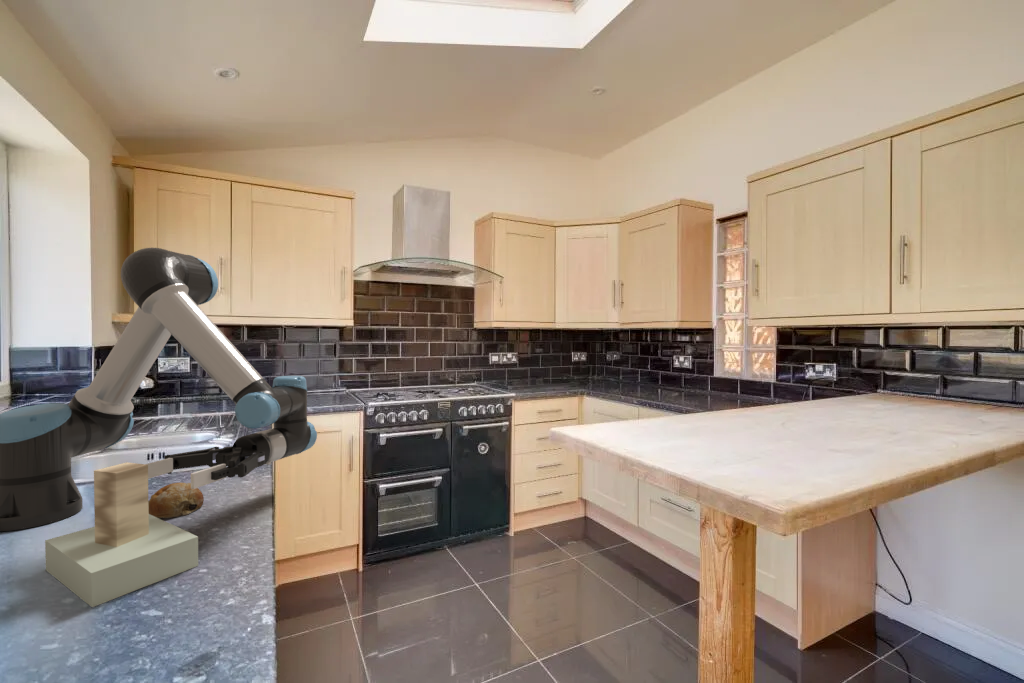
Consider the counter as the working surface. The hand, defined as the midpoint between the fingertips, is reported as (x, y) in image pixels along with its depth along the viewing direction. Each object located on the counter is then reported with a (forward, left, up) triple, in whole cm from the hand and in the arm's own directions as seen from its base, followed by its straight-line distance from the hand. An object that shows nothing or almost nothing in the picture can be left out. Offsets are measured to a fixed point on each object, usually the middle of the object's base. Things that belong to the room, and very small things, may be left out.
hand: (163, 477), depth 84 cm
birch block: (+2, -7, -8) cm, 11 cm away
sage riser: (+2, -7, -13) cm, 15 cm away
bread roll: (-19, +10, -14) cm, 26 cm away
